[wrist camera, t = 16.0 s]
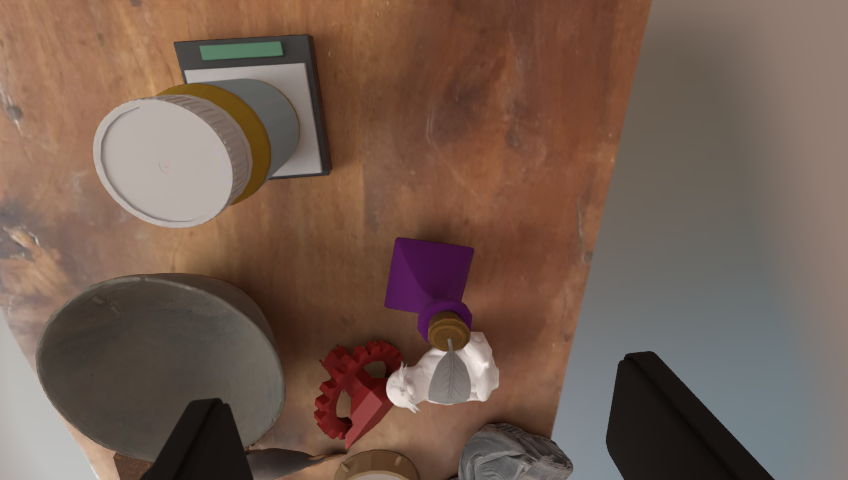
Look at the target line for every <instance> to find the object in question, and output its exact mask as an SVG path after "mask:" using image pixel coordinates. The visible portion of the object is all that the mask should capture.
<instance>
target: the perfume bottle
mask: <svg viewBox="0 0 848 480" xmlns="http://www.w3.org/2000/svg"><path fill="white" fill-rule="evenodd" d="M473 253H474V249H473V248H472V247H466V246H459V245H451V244H444V243H437V242H429V241H422V240H415V239H407V238H400V237H398V238H396V240H395V245H394V251H393V256H392V262H391V268H390V274H389V280H388V286H387V292H386V297H385V303H384V306H385V307H386V308H390V309H396V310H402V311H408V312H414V313H419V315H418V331H419V332H420V333H421V335H422V336H423V338H424V339H425V341H427V342H429V343H431V344H432V346H433V347H434V348H436V349H438V350H440V351H442V352H447V353H446V354H445V355H444V357H443V358H442V359H441V360H440V361H439V362H438V364H437V366H436V369H435V371H434V374H433V376H432V379H431V382H430V386H429V392H428V399H429V400H430V401H434V402H437V403H441V404H455V403H465V402H466V401H467V400H468V399H469V398H470V393H471V381H470V376H469V373H468V370H467V367H466V365H465V364H464V362H463V361H462V360H461V359H460V358H459V356H458V355H457V354H456V353H455V351H458V350H460V349H463V348H464V347H465V346H466V345H467V344H468V343H469V342H470V335H471V332H470V331H471V324H472V314H471V313H470V311H469V309H468V308H467V306H466V305H465V304H464V303H462V302H461V301H462V297H463V293H464V289H465V285H466V281H467V277H468V273H469V269H470V265H471V261H472V257H473Z"/></svg>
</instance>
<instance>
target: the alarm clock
mask: <svg viewBox="0 0 848 480" xmlns="http://www.w3.org/2000/svg"><path fill="white" fill-rule="evenodd" d="M340 465H341V466H340V467H339V468H338V470H337V472H336V475H335V477H334V480H419V476H418V473H417V470H416V468H415V467H414V465H413V464H412V463H411V462H410V461H409V460H408V459H406V458H405V457H403V456H401V455H400V454H398V453H394V452H390V451H386V450H371V451H367V452H363V453H359V454H357V455H355V456H353V457H351V458H350V459H348V460H346V461H345V462H344V463H343V462H342V463H341V464H340Z"/></svg>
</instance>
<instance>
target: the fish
mask: <svg viewBox="0 0 848 480" xmlns="http://www.w3.org/2000/svg"><path fill="white" fill-rule="evenodd" d="M244 450H245V454H246V457H247V460H248V463H249V466H250V469H251V472H252V475H253V478H254V480H274V479H277V478H280V477H283V476H286V475H289V474H292V473H294V472H297V471H299V470H302V469H304V468H306V467H311V466H316V465H319V464H321V463H322V462H324V461H327V460H331V459H334V458H338V457H341V456H344V455H346V454H336V455H331V456H326V455H327V454H326V455H317V456H312V455H309V454H307V453H304V452H300V451H293V450H286V449H278V448H268V449H263V450H257V449H255V450H249V447H248V448H246V449H244ZM324 456H326V457H324Z"/></svg>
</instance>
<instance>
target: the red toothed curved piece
mask: <svg viewBox="0 0 848 480" xmlns="http://www.w3.org/2000/svg"><path fill="white" fill-rule="evenodd" d="M337 346H338V348H337V349H334V350H332V351H331V352H330V353H329V355H328V356H327V358H326V359H325V360H324V362H323V361H322V360H321V359H320V360H319V361H320V362H321V363H322V365H323V367H324V368H325V369H326V370H327V371H328V372H329V374H330V376H331V377H332V378H331V380H330V381H326V382H322V384H321V386H320V388H319V389H320V390H321V391H322V392H323V393H324V394H323V395H321V396H319V397H317V398H316V400H315V405H316V406H317V408H318V410H316V411H315V412H314V417H315V419H316V420H317V421H318V423H317V425H318V426H319V427H320V429H321V430H322V431H323V432H324V433H325V434H327V435H328V436H329V437H330V438H332V439H335V438H336V437H338V438H339V439H340V440H343V439H346V438H347V439H346V440H345V442H346V446H345V448H346V449H348V448H349V447H350V446H351V445H353V444H354V443H355V442H356V441H357V440H359V439H360V438H361V437H362V436H363V435H365V434H366V433H367V432H368V431H369V430H371V429H372V428H373V427H374V426H375V425H377V424H378V423H379V422H380V421H381V420H382V418H383V417H384V416H385V415H386V413H387V412H388V411H389V410H390V408H391V407H392V406H393V405H394V404H393V403H392V402H391V401H390V399H389V398H388V396H387V392H386V385H387V381H388V379H389V377H390V376H391V374H392V373H394V372H395V371H396V370H398V369H400V367H401V361H402V360H403V356H402V355H401V354H400V353H399V352H398V351H399V350H398V349H396V348H395V347H394V346H392V345H391V344H390V343H386V342H385V341H383V340H379V342H378V343H375V342H374V341H368V342H367V345H366V347H365V349H364V348H363V347H362V346H361V345H359V346H357V347H355V348H354V353H353V356H352V355H350V353H349V352H348V351H347V350H346V349H345V348H344V347H343V346H342V347H340V346H339V345H338V344H337ZM375 361H384V363H385V367H386V373H385V378H372V377H371V375H369V374H368V373H367V372H366V371H365V369H364V368H363V367H364V366H365V365H367V364H369V363H371V362H375ZM402 366H403V368H404V364H403V363H402ZM343 389H344V390H345V391H346V392H347V393H348V394H349V396H350V397H351V398H352V400H351V416H350V418H351V420H350V419H349V418H348V417H344V418H341V417H337V414H336V405H337V401H338V398H339V395H340V393H341V391H342V390H343ZM343 392H344V391H343Z"/></svg>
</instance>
